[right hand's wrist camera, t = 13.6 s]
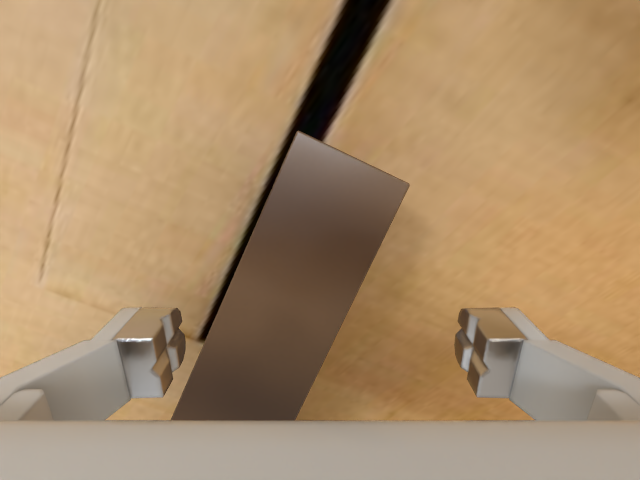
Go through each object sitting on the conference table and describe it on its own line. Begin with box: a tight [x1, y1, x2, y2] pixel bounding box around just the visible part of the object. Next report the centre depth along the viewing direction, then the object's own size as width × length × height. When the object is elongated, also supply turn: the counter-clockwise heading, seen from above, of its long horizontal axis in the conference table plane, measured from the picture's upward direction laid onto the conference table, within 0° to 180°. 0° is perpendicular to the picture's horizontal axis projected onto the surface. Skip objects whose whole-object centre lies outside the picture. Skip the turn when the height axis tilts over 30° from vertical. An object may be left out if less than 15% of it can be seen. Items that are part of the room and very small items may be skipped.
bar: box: [171, 131, 410, 421], centre depth 22 cm, size 28×6×8 cm, turn 155°
